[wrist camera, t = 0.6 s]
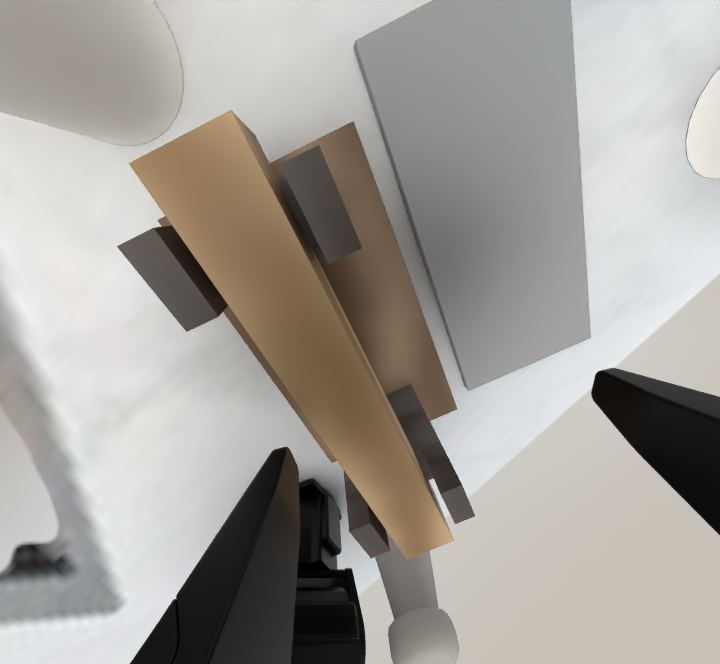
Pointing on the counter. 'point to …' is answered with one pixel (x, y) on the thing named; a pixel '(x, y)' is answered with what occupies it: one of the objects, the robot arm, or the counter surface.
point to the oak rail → (291, 314)
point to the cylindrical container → (90, 67)
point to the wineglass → (706, 131)
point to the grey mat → (489, 171)
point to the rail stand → (355, 294)
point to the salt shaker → (415, 610)
